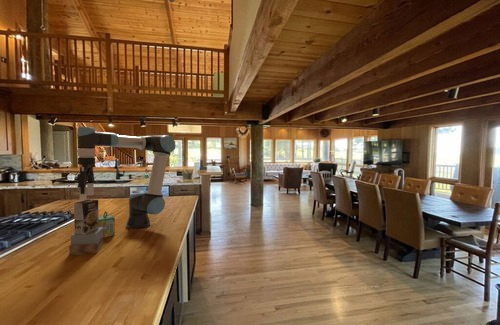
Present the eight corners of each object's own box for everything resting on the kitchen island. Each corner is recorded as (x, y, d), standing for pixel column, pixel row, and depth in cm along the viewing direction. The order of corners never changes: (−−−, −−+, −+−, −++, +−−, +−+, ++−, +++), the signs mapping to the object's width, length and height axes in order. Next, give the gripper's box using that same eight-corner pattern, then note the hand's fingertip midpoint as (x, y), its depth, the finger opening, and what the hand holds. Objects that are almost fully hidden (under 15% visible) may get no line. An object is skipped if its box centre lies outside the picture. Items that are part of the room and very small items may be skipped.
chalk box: (93, 235, 146) (93, 211, 145) (110, 232, 153) (110, 209, 152) (97, 239, 140) (97, 214, 139) (115, 235, 146) (115, 212, 146)
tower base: (102, 244, 133) (102, 235, 133) (97, 253, 122) (97, 243, 122) (77, 247, 129) (77, 237, 129) (69, 256, 118) (69, 246, 118)
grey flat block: (102, 236, 133) (102, 227, 132) (95, 243, 122) (95, 234, 122) (80, 237, 130) (80, 228, 130) (70, 245, 119) (70, 235, 119)
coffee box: (84, 235, 120) (84, 203, 119) (74, 233, 121) (73, 202, 120) (99, 229, 129) (98, 199, 128) (89, 228, 130) (88, 198, 129)
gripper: (85, 156, 133) (85, 193, 134) (69, 157, 110) (70, 203, 111) (100, 156, 136) (100, 193, 137) (88, 157, 113) (88, 202, 114)
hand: (87, 197), depth 124 cm, fingers open, 13 cm apart
